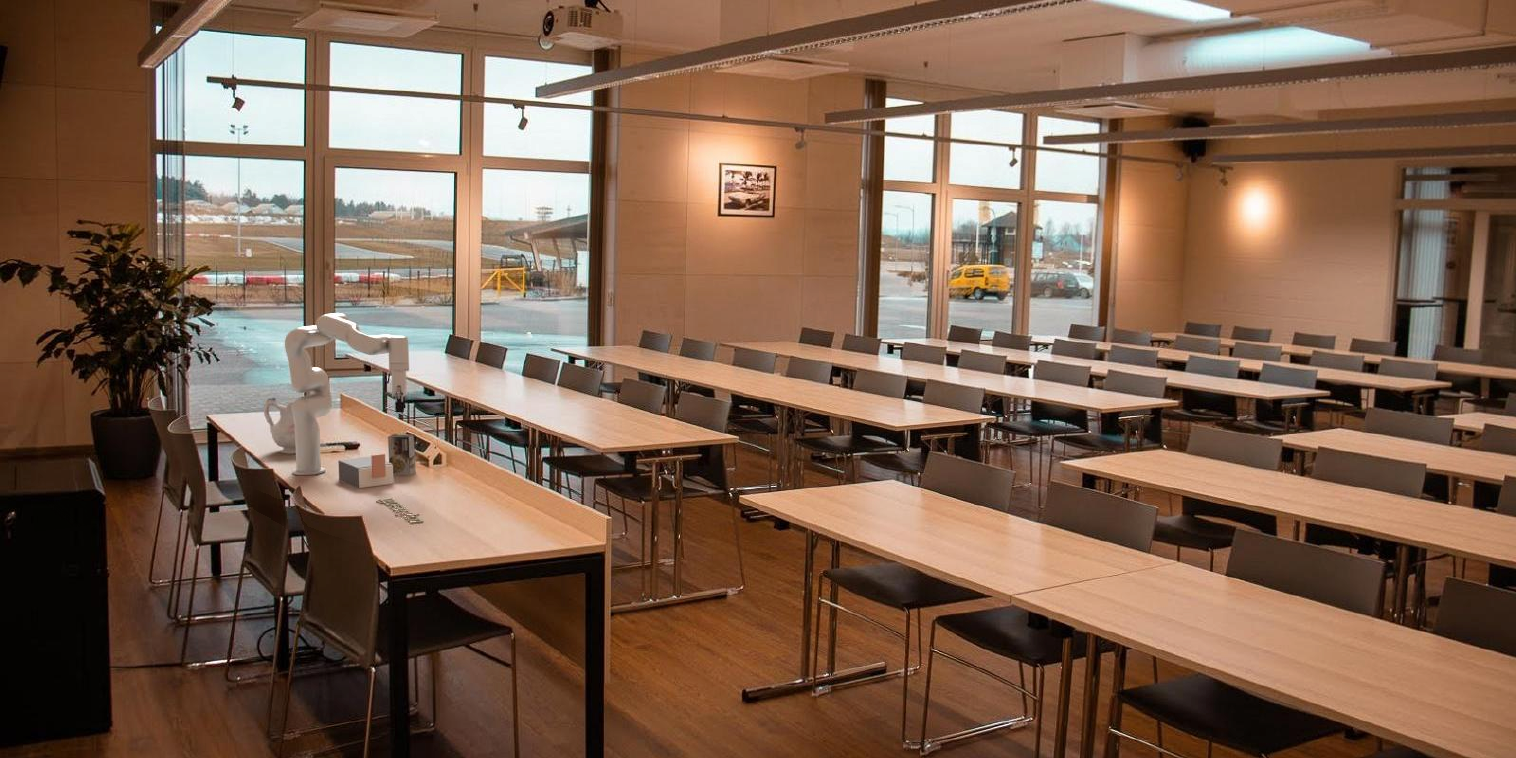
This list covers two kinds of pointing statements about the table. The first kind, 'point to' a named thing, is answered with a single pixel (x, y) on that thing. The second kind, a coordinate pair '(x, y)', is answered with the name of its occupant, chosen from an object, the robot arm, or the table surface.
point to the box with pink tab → (376, 473)
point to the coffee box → (402, 453)
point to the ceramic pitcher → (282, 426)
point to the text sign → (394, 505)
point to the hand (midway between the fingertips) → (400, 410)
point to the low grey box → (354, 469)
